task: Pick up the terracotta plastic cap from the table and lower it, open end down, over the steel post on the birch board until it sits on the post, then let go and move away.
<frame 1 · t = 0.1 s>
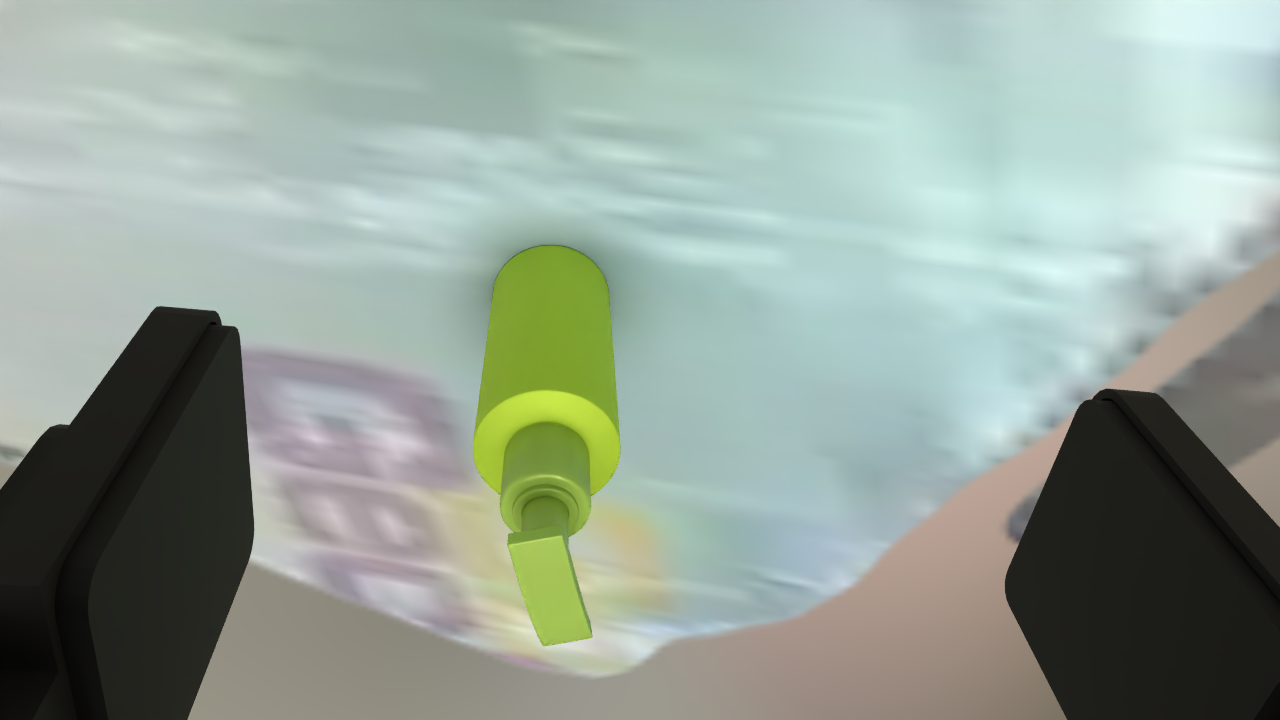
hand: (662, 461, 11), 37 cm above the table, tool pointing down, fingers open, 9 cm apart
soap dispenser: (553, 304, 52), on the table
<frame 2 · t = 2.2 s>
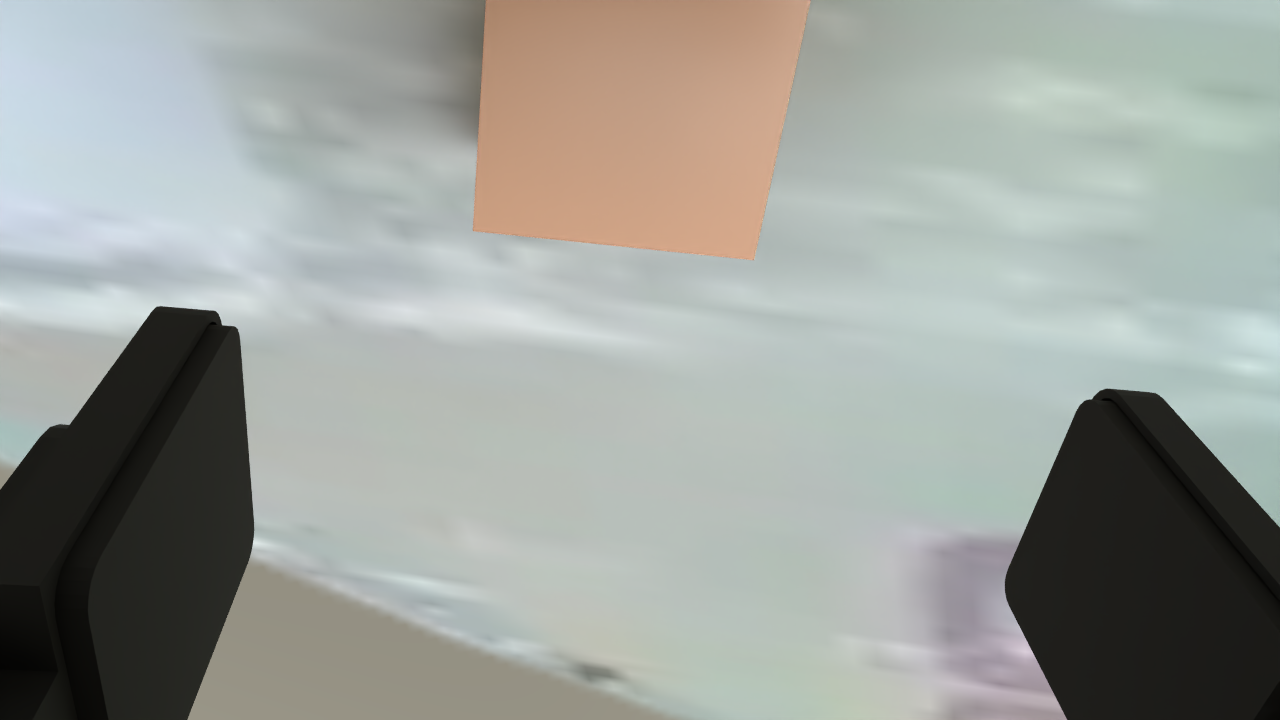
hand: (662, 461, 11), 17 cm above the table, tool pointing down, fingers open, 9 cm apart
cap: (625, 44, 25), on the table
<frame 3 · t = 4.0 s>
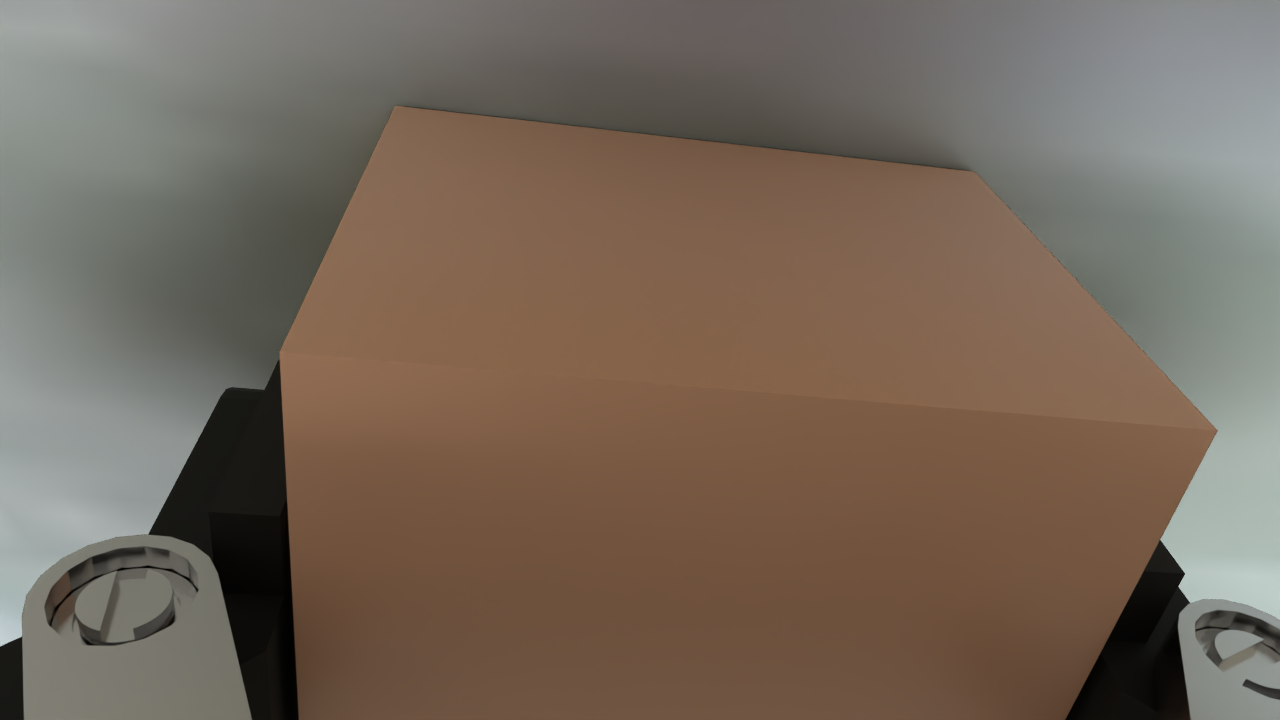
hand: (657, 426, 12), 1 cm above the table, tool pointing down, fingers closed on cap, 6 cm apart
cap: (653, 386, 13), on the table, touching gripper
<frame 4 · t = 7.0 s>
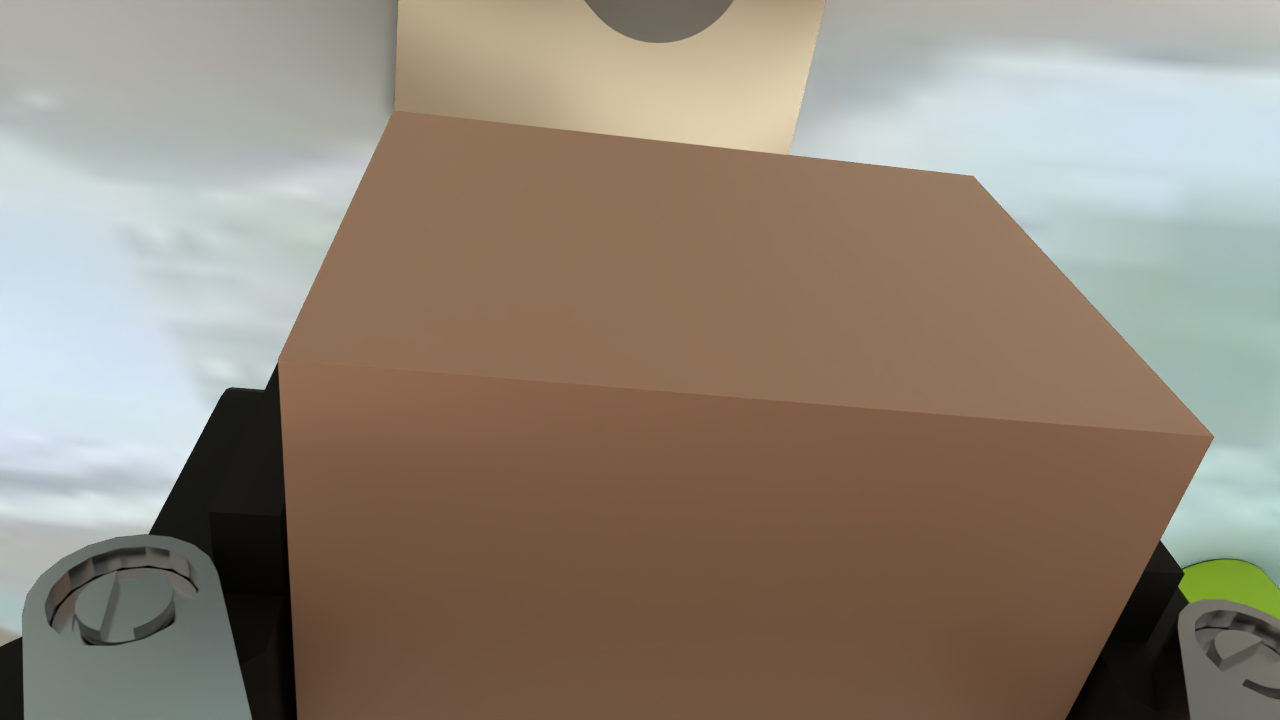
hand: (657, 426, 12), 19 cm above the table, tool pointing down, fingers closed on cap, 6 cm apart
cap: (651, 389, 13), point 18 cm above the table, touching gripper
soap dispenser: (1196, 617, 43), on the table
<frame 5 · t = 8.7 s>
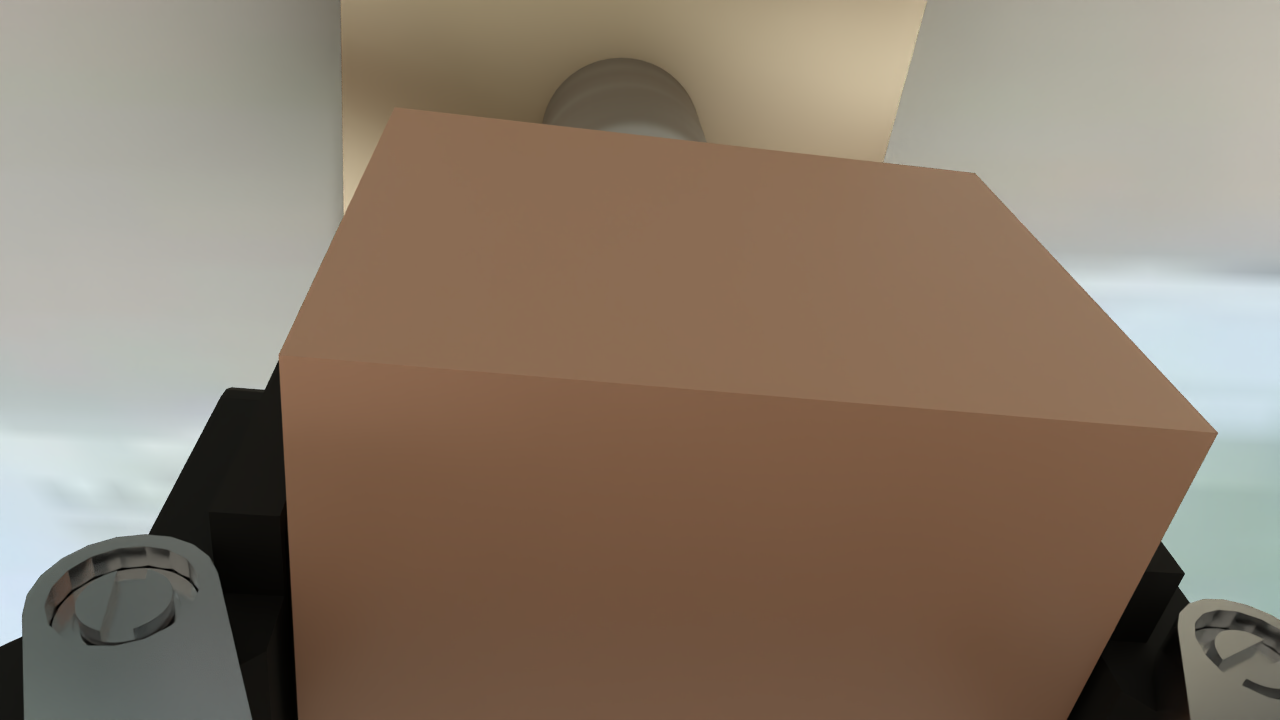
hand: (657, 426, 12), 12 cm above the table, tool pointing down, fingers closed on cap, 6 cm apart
board: (617, 114, 22), on the table
cap: (652, 387, 13), point 11 cm above the table, touching gripper
when the fingers open (7 cm above the table, at t = 10.3 s): cap stays where it is, resting on board.
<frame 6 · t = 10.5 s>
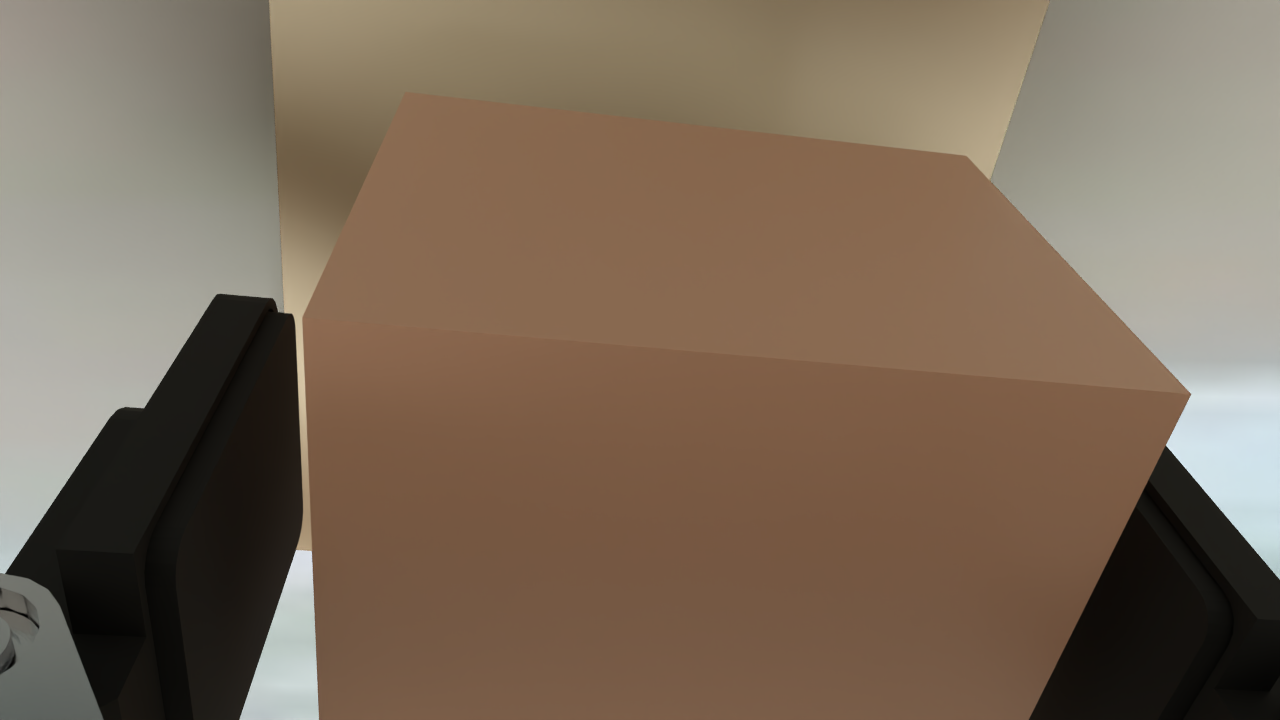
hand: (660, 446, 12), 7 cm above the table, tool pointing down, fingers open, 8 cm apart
board: (628, 205, 18), on the table
cap: (654, 365, 13), point 5 cm above the table, touching board
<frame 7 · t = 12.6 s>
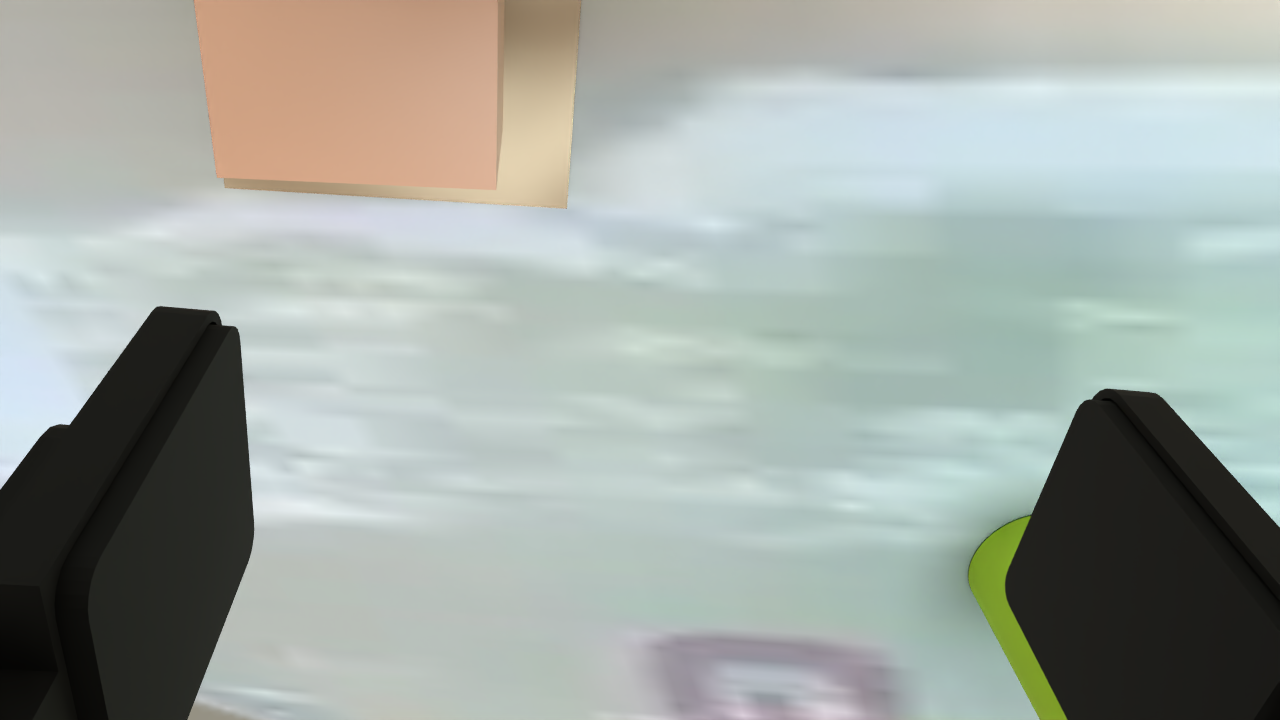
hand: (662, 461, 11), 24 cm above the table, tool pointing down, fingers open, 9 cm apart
cap: (381, 2, 27), point 5 cm above the table, touching board
soap dispenser: (1029, 568, 47), on the table
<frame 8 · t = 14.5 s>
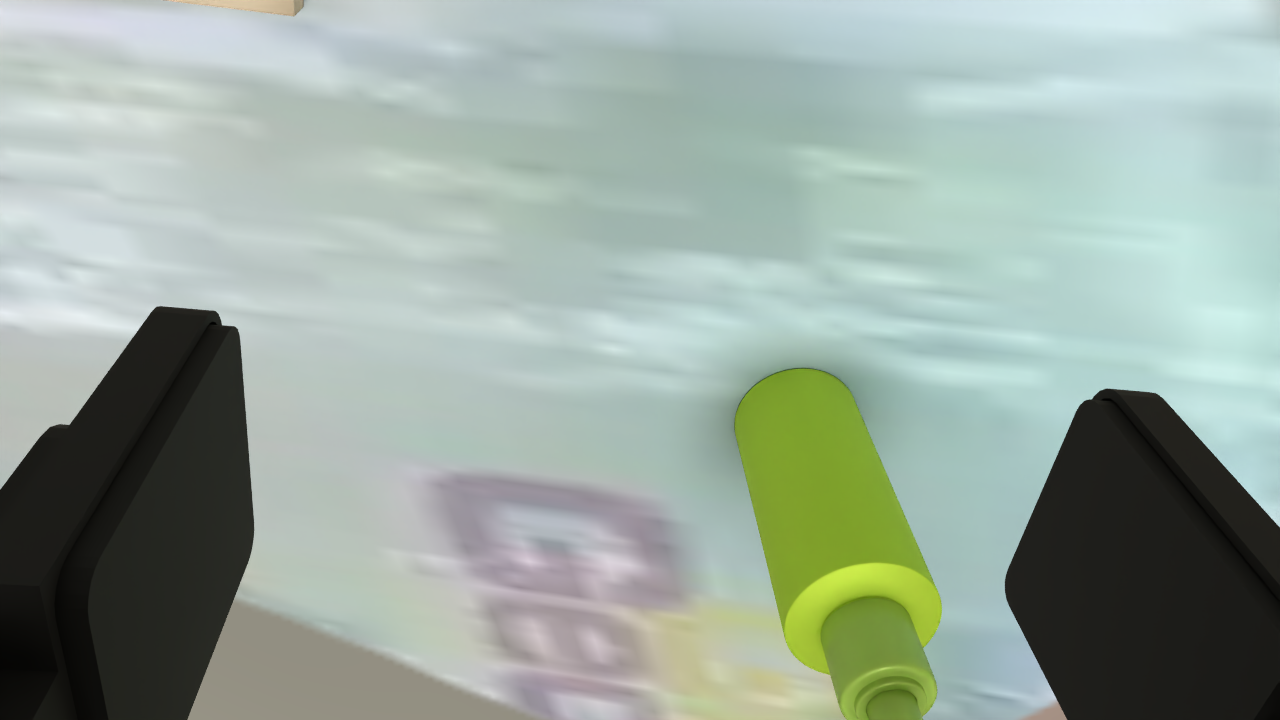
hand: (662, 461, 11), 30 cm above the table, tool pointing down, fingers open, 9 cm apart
soap dispenser: (795, 426, 49), on the table
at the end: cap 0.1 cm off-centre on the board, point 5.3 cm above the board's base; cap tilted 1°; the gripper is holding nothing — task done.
